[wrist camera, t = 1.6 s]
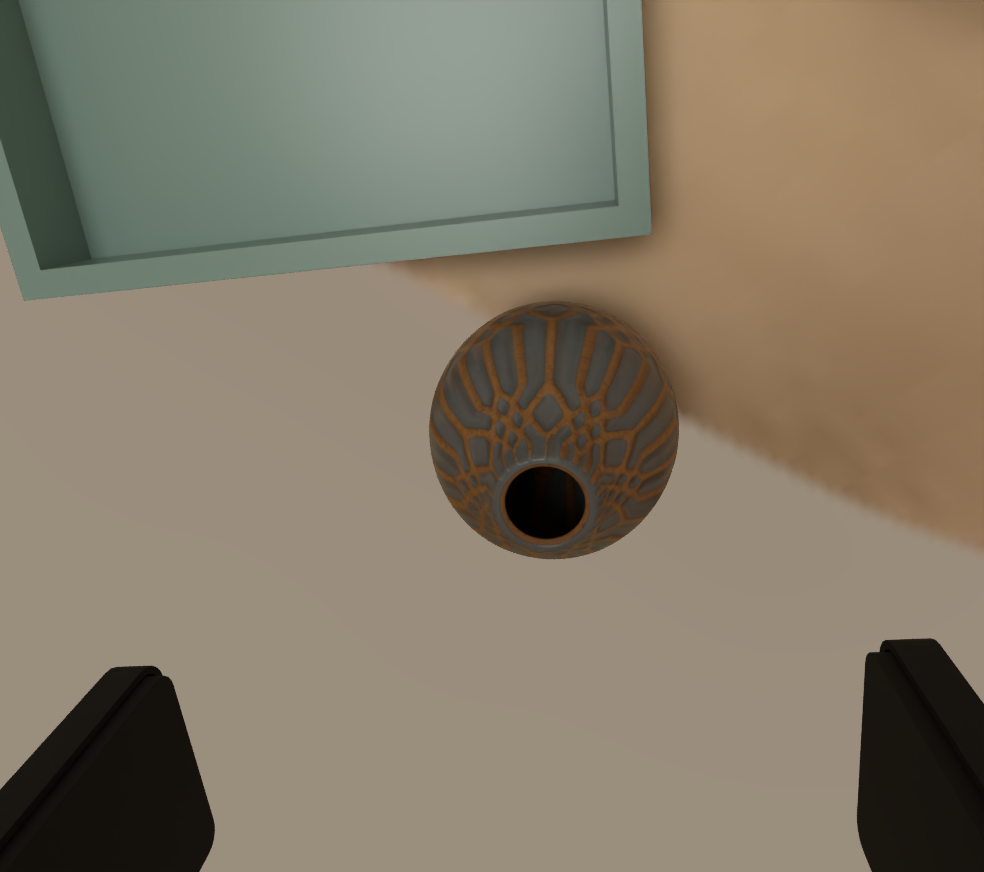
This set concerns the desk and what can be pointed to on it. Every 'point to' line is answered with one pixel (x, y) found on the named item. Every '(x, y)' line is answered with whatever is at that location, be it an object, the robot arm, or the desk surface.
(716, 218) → the desk surface
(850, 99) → the desk surface
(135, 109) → the tray
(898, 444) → the desk surface
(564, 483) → the vase
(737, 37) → the desk surface
